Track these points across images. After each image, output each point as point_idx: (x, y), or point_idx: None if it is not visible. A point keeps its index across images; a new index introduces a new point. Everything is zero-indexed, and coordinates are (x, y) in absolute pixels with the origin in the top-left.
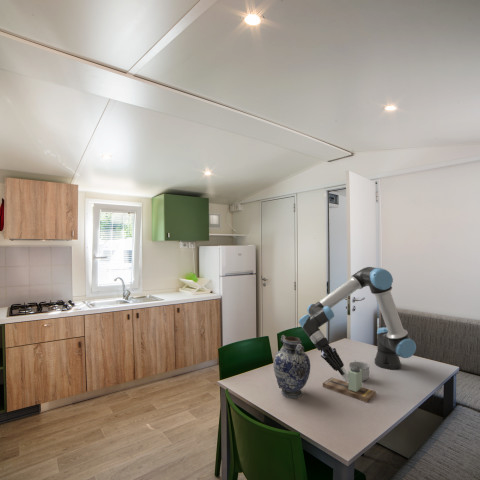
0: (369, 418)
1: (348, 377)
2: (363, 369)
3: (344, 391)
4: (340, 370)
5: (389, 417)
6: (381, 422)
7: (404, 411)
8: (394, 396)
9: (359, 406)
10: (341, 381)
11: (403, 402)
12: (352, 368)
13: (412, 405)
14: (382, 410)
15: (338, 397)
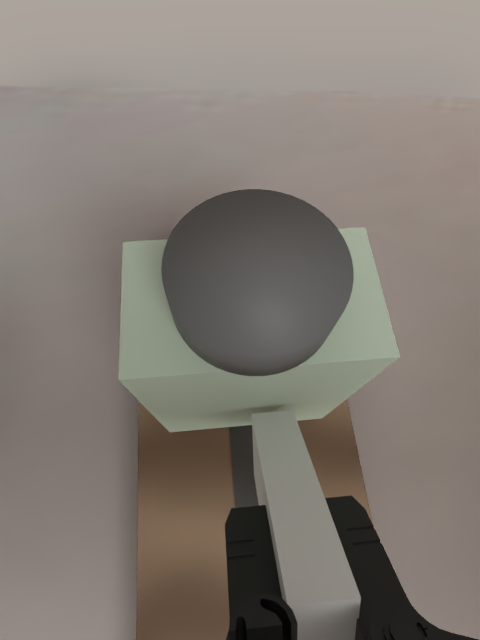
0: (476, 174)
1: (362, 386)
2: None
3: (354, 450)
4: (394, 574)
5: (363, 118)
6: (449, 125)
7: (230, 94)
8: (67, 182)
9: (409, 270)
10: (168, 628)
11: (119, 126)
12: (352, 277)
13: (122, 89)
14: (323, 163)
15: (443, 460)
